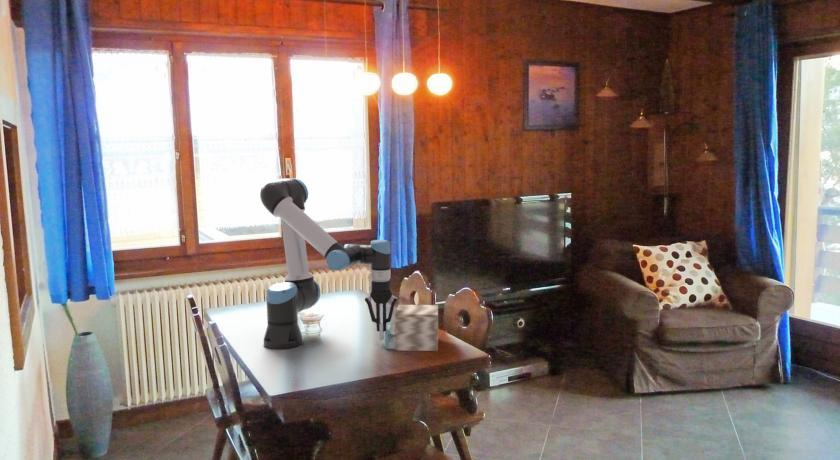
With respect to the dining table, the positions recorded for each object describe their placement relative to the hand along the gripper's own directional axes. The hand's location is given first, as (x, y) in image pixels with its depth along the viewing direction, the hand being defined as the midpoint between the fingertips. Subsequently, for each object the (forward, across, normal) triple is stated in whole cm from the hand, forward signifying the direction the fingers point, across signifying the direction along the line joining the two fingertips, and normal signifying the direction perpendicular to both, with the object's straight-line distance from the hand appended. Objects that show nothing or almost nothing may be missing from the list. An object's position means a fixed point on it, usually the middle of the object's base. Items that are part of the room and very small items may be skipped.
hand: (381, 339), depth 254 cm
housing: (+2, +14, 0) cm, 14 cm away
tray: (+2, +11, 0) cm, 12 cm away
